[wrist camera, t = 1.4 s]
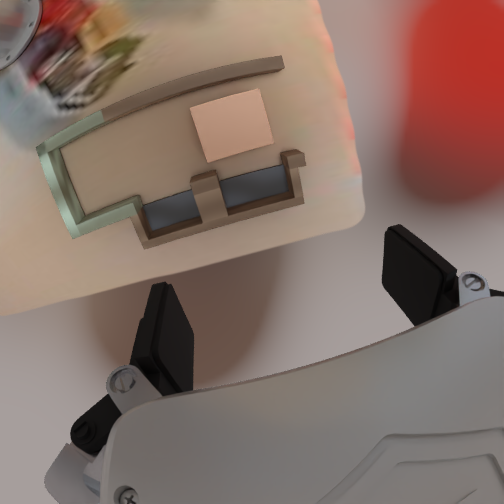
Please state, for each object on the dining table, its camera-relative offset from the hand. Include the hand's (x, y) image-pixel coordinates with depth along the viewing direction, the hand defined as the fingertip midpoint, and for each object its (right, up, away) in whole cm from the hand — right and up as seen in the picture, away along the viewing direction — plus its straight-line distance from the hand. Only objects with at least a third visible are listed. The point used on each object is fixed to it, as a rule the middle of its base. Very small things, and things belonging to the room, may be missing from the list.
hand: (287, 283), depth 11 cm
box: (-11, +12, +19) cm, 25 cm away
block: (-4, +16, +18) cm, 24 cm away
